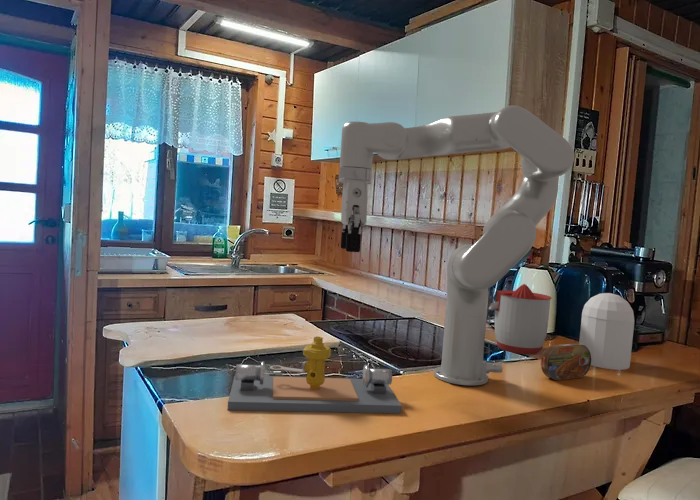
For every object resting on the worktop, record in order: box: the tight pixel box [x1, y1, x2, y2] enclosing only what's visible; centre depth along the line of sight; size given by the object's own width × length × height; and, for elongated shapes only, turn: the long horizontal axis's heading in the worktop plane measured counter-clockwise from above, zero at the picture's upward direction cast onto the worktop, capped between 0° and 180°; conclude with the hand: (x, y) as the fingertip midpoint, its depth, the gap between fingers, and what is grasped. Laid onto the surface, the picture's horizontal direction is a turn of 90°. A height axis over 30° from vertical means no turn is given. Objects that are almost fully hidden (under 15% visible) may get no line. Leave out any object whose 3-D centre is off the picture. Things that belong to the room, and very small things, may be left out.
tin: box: [540, 343, 592, 381], centre depth 135 cm, size 15×3×8 cm, turn 116°
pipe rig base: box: [227, 374, 402, 414], centre depth 108 cm, size 32×16×2 cm, turn 98°
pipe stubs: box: [235, 361, 393, 394], centre depth 107 cm, size 31×4×5 cm, turn 98°
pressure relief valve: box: [269, 336, 332, 389], centre depth 108 cm, size 6×12×10 cm, turn 80°
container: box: [578, 292, 635, 371], centre depth 152 cm, size 14×13×20 cm
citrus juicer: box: [488, 283, 553, 356], centre depth 160 cm, size 16×17×20 cm
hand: (349, 250), depth 127 cm, fingers open, 9 cm apart
